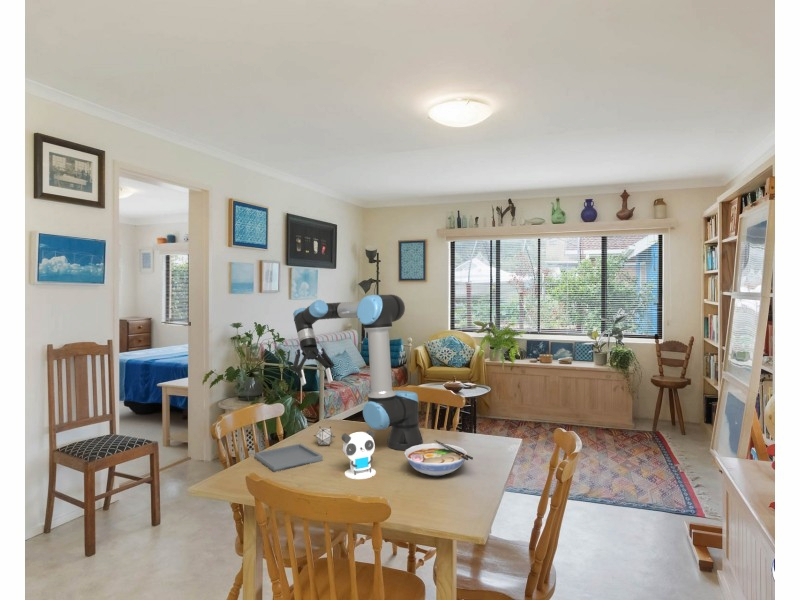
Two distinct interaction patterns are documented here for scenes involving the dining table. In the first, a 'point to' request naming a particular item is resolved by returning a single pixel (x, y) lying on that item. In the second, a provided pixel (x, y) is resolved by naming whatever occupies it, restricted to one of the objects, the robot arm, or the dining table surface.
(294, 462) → the tray
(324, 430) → the game die
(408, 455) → the ramen bowl
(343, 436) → the panda figurine
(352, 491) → the dining table surface
